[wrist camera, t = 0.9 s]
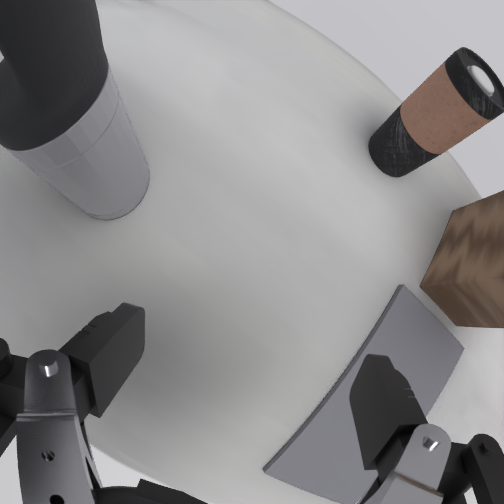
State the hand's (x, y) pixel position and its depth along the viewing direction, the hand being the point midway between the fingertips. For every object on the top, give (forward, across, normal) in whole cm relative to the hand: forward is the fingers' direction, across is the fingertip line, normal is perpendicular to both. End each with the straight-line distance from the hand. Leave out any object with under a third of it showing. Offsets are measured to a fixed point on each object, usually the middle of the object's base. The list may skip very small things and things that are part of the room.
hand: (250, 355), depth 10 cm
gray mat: (+18, -18, +18) cm, 31 cm away
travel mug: (+32, -14, -12) cm, 37 cm away
